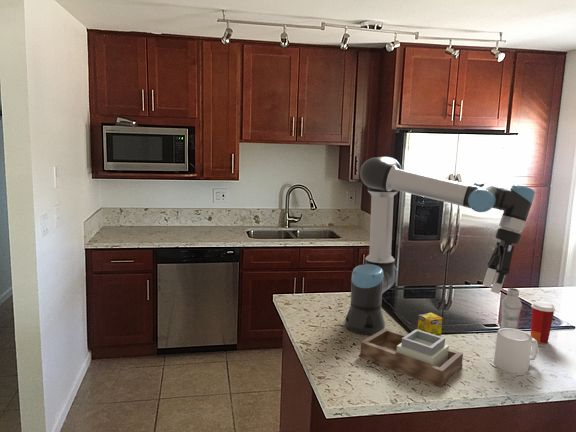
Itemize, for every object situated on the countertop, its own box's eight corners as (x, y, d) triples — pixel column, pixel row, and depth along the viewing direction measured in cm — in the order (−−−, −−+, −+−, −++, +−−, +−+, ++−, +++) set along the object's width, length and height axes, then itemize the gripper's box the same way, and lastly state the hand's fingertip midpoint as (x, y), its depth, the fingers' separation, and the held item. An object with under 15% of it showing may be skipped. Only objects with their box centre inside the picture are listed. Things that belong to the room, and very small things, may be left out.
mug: (522, 355, 159) (525, 326, 157) (544, 370, 149) (548, 339, 147) (487, 359, 155) (490, 329, 154) (507, 374, 146) (511, 342, 144)
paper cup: (550, 338, 173) (554, 302, 171) (551, 346, 166) (556, 309, 164) (526, 334, 176) (530, 299, 174) (527, 342, 169) (531, 305, 167)
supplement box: (427, 350, 161) (430, 320, 159) (415, 343, 166) (418, 314, 164) (440, 347, 163) (443, 317, 162) (428, 340, 169) (430, 311, 167)
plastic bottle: (520, 347, 165) (526, 293, 162) (499, 345, 166) (505, 291, 163) (515, 339, 171) (521, 287, 168) (495, 337, 173) (501, 285, 169)
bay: (359, 356, 155) (360, 342, 154) (384, 340, 167) (385, 327, 167) (440, 387, 137) (441, 371, 136) (462, 367, 149) (463, 352, 149)
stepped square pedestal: (395, 362, 149) (397, 338, 147) (412, 350, 158) (414, 327, 156) (431, 375, 141) (433, 350, 140) (447, 362, 150) (449, 338, 149)
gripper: (532, 235, 146) (511, 299, 147) (511, 232, 170) (493, 287, 172) (507, 228, 147) (486, 291, 149) (491, 226, 172) (473, 280, 173)
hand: (490, 289), depth 160 cm, fingers open, 13 cm apart
